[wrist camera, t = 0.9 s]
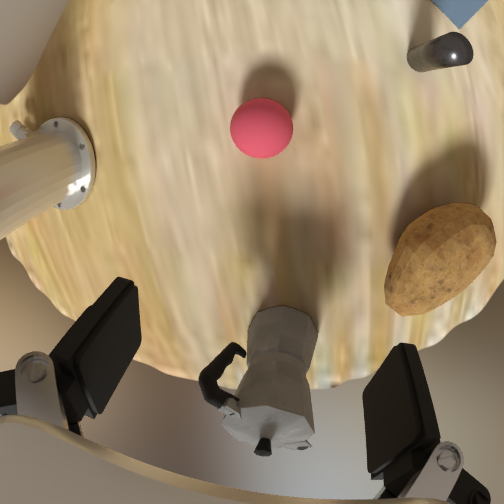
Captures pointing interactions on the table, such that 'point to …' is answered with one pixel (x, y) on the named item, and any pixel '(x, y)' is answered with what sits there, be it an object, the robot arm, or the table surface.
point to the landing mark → (459, 9)
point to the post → (441, 53)
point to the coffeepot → (268, 382)
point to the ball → (261, 128)
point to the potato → (438, 257)
